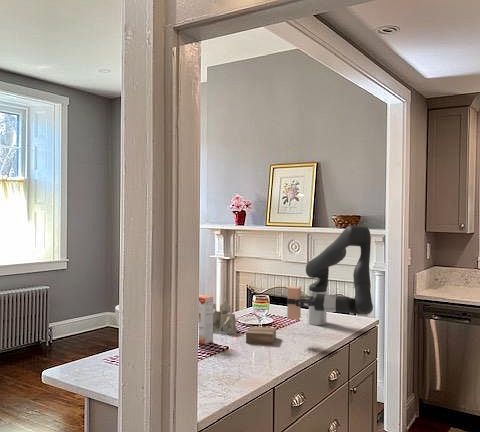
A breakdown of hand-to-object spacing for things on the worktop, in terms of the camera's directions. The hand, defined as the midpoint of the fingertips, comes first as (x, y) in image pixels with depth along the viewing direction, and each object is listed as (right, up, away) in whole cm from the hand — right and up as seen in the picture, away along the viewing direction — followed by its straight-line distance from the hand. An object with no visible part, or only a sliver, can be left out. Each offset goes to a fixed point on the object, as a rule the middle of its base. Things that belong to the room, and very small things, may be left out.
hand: (288, 300), depth 223 cm
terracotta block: (+2, -8, -1) cm, 8 cm away
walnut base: (-12, -19, +3) cm, 23 cm away
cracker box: (-41, -19, +2) cm, 46 cm away
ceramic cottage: (-32, -19, +21) cm, 42 cm away
